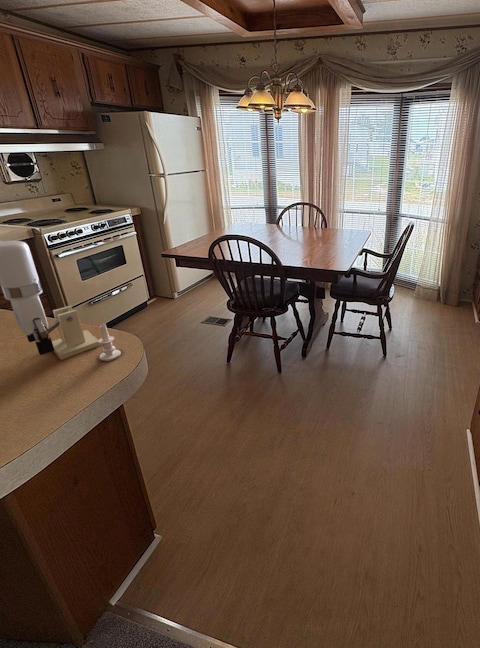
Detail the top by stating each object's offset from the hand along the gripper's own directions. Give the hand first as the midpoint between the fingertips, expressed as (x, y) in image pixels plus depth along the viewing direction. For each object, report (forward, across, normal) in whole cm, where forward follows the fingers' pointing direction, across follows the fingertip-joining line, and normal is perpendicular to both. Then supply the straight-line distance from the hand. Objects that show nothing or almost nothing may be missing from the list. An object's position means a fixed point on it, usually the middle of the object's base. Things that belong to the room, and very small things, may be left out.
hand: (41, 346), depth 94 cm
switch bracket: (+3, 0, +7) cm, 8 cm away
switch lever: (-4, 0, +5) cm, 6 cm away
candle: (+4, +13, +12) cm, 18 cm away
